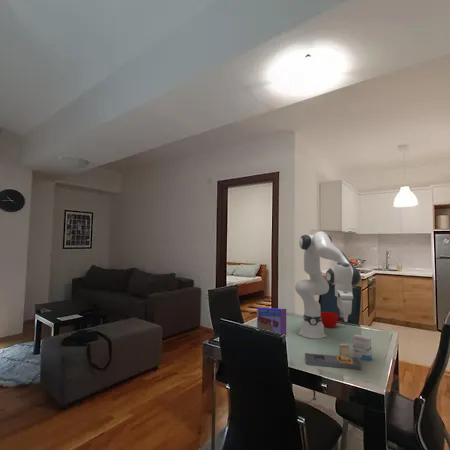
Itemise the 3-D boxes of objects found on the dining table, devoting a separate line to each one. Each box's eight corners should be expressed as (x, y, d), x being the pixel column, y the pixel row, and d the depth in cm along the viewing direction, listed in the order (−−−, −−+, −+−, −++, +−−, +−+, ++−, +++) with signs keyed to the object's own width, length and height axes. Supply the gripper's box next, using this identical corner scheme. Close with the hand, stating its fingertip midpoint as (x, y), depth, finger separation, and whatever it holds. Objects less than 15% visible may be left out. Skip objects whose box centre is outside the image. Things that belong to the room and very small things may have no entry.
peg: (339, 362, 159) (339, 343, 159) (347, 363, 158) (347, 344, 159) (341, 365, 155) (340, 346, 155) (349, 366, 154) (348, 346, 155)
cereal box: (256, 349, 177) (257, 308, 179) (257, 346, 182) (257, 307, 184) (286, 351, 175) (286, 310, 177) (285, 348, 180) (285, 308, 182)
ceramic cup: (345, 330, 223) (345, 316, 223) (321, 328, 225) (321, 315, 226) (341, 325, 235) (341, 312, 236) (319, 324, 238) (319, 311, 239)
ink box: (372, 358, 165) (371, 337, 166) (368, 361, 162) (368, 339, 163) (356, 354, 171) (356, 333, 172) (352, 356, 168) (352, 335, 169)
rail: (304, 357, 165) (304, 352, 165) (356, 362, 160) (356, 356, 160) (306, 364, 155) (306, 359, 155) (360, 369, 150) (360, 364, 150)
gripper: (334, 290, 170) (334, 314, 169) (340, 295, 150) (341, 323, 149) (345, 290, 168) (346, 315, 167) (354, 296, 148) (354, 324, 147)
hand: (343, 319), depth 158 cm, fingers open, 8 cm apart
